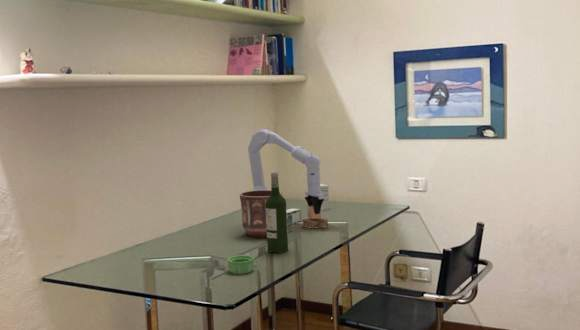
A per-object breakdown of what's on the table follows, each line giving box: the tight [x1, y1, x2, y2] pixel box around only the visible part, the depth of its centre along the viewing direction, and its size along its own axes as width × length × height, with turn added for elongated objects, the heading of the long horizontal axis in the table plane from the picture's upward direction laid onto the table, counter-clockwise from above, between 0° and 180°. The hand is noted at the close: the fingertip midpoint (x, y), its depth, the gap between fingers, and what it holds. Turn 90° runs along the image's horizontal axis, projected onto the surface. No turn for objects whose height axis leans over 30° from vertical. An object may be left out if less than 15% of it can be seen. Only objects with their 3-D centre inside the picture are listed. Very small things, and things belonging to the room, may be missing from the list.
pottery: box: [239, 189, 283, 239], centre depth 262 cm, size 18×18×18 cm
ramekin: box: [227, 254, 255, 275], centre depth 210 cm, size 9×9×4 cm
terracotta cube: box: [306, 205, 322, 219], centre depth 274 cm, size 4×4×5 cm
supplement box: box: [320, 183, 330, 211], centre depth 315 cm, size 7×7×13 cm
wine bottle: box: [265, 172, 289, 254], centre depth 233 cm, size 8×8×30 cm
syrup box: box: [286, 208, 303, 226], centre depth 284 cm, size 6×6×14 cm
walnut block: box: [302, 217, 329, 228], centre depth 275 cm, size 8×8×4 cm
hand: (314, 213), depth 275 cm, fingers closed on terracotta cube, 4 cm apart
